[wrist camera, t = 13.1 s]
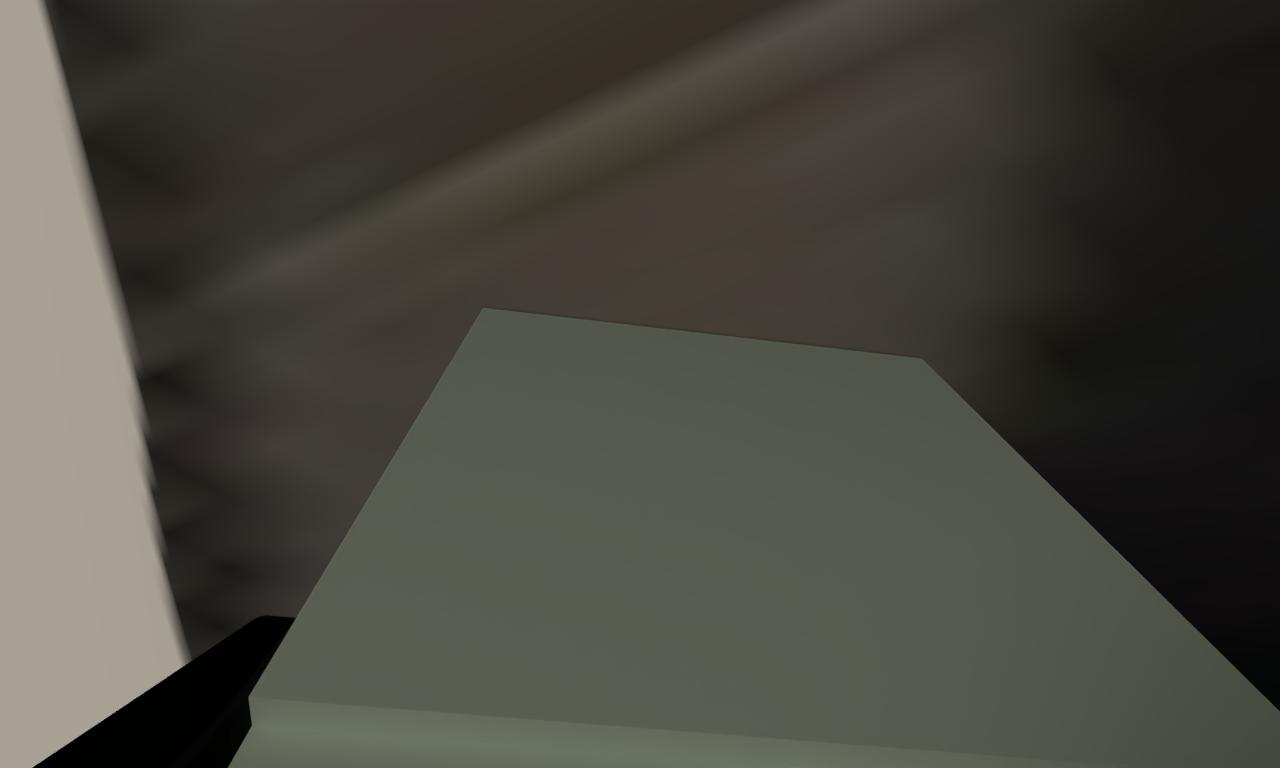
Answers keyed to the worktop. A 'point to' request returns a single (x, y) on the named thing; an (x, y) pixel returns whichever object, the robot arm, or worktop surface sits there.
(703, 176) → the worktop surface
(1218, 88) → the worktop surface
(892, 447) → the sage green lidded box
